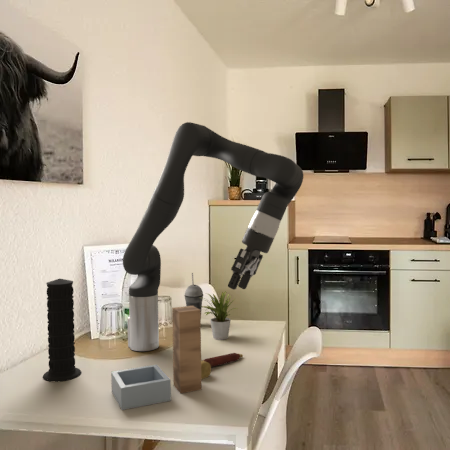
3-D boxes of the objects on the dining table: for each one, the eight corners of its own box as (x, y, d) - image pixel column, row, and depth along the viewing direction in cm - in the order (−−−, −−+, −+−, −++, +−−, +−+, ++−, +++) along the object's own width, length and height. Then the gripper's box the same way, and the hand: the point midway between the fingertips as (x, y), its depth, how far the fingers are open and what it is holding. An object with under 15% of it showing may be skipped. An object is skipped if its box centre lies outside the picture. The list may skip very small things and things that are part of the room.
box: (111, 391, 116) (111, 371, 115) (157, 383, 120) (156, 364, 120) (121, 410, 105) (121, 388, 105) (170, 400, 110) (170, 379, 110)
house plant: (203, 330, 171) (203, 286, 170) (241, 331, 169) (240, 286, 168) (195, 341, 157) (195, 293, 156) (236, 343, 155) (236, 294, 154)
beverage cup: (189, 328, 173) (188, 275, 172) (181, 324, 180) (181, 272, 179) (207, 326, 176) (206, 273, 176) (199, 322, 183) (198, 271, 182)
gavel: (231, 344, 144) (254, 351, 137) (230, 359, 144) (253, 367, 137) (176, 354, 130) (198, 363, 123) (175, 371, 130) (197, 381, 123)
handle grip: (88, 374, 127) (71, 365, 135) (86, 278, 126) (68, 274, 133) (52, 384, 120) (36, 374, 128) (49, 282, 119) (33, 278, 126)
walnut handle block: (173, 385, 119) (172, 307, 118) (193, 381, 121) (192, 305, 120) (180, 393, 114) (179, 312, 113) (201, 389, 116) (200, 309, 115)
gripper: (256, 229, 130) (232, 282, 130) (240, 222, 117) (214, 281, 117) (280, 239, 127) (256, 294, 128) (267, 234, 114) (240, 295, 114)
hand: (236, 288), depth 122 cm, fingers open, 8 cm apart
